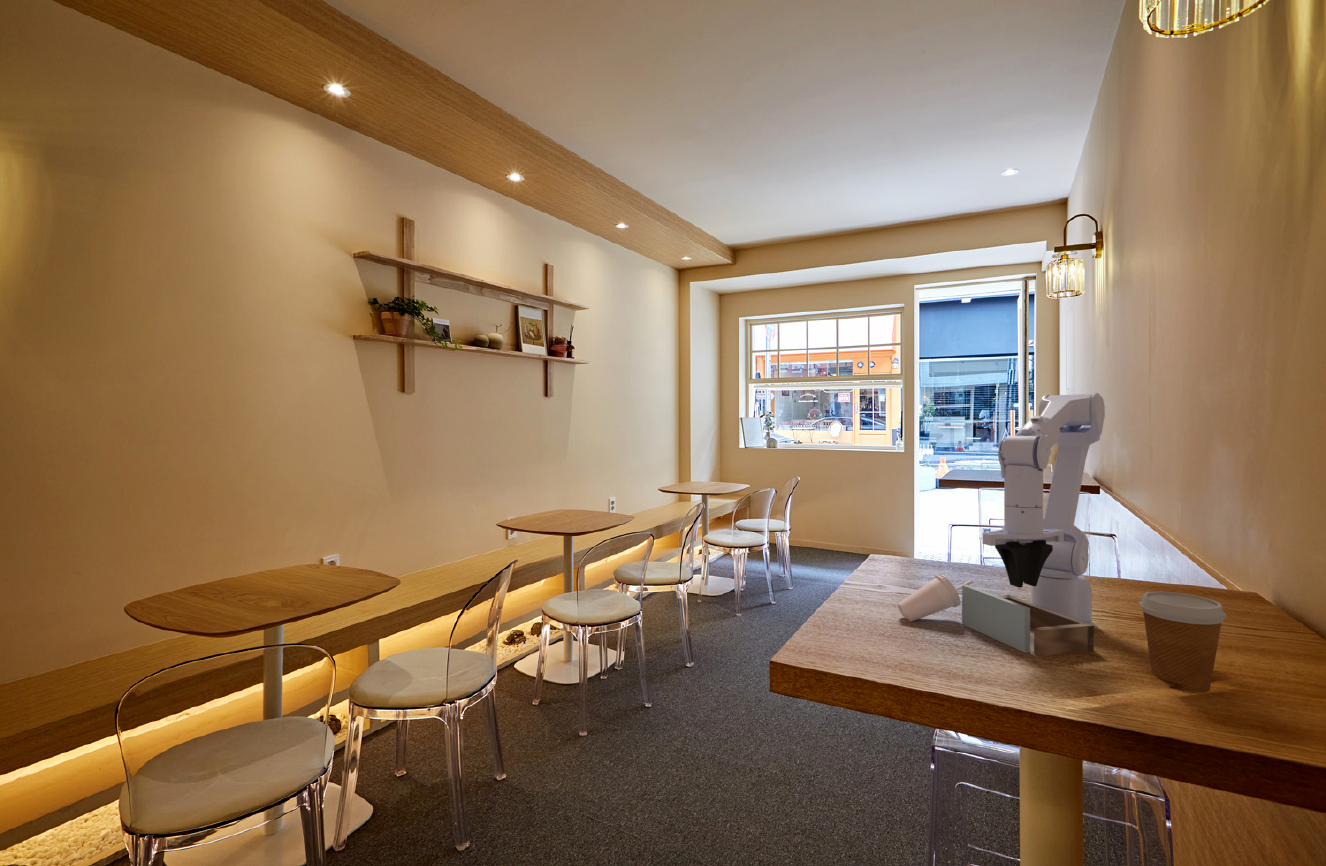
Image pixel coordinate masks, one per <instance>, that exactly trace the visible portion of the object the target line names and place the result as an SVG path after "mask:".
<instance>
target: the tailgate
mask: <svg viewBox="0 0 1326 866" xmlns="http://www.w3.org/2000/svg"><path fill="white" fill-rule="evenodd" d="M961 585H962V584H961ZM961 593H962V594H961V624H962V625H964V626H966V627H968V628H970V629H972V630H974V631H977V632H979V633H981V634H983V635H985V636H987V637H990V638H992V639H993V640H995V641H998V642H1000V643H1002V644H1005V645H1007V646H1009V647H1011V648H1013V649H1016V650H1018V651H1020V652H1021V653H1024V654H1025V653H1031V652H1030V608H1029V607H1026V606H1023V605H1020V604H1018V603H1015V602H1012V601H1010V600H1007V599H1004V598H1001V597H999V596H1000V595H995V594H993V593H990V592H988V591H985V590H983V589H982V590H981V589H980V588H977V587H973V586H971V585H970V584H969V585H962V589H961Z"/></svg>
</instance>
